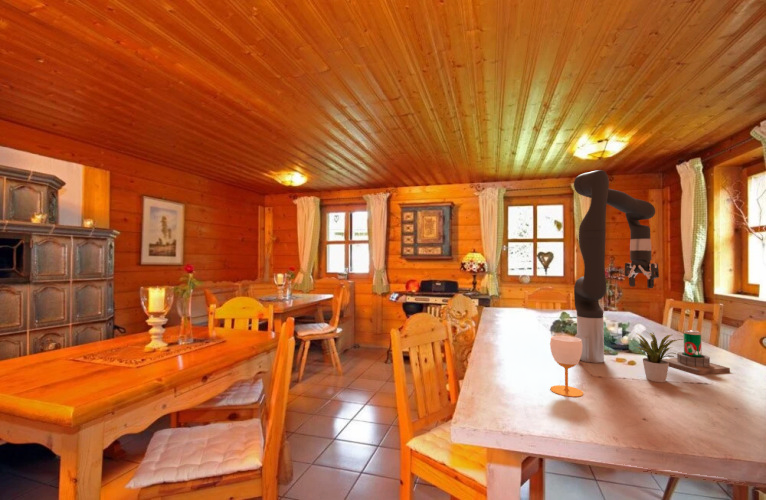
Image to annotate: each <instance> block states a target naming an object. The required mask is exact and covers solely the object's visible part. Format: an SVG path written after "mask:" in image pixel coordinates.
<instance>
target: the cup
mask: <svg viewBox="0 0 766 500" xmlns="http://www.w3.org/2000/svg"><path fill="white" fill-rule="evenodd" d="M549 345H550V352H551V356H552V358H553V360H554V361H555V362H556V363H557V365H559V366H560V367H563V368H564V385H560V384H559V385H558V384H557V385H552V386H551V387H550V390H551V392H552V393H554V394H556V395H559V396H562V397H563V396H564V397H568V398H578V397H579V398H580V397H582V396H584V391H582V390H581V389H579V388H577V387H574V386H570V385H569V369H570V368H573V367H575V366H577V365H578V364H579V362H580V361H581V360H580V358H581V355H582V340H581V339H579V338H576V337H575V336H572V335H571V336H569V335H553V336H551V337H550V343H549Z"/></svg>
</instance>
